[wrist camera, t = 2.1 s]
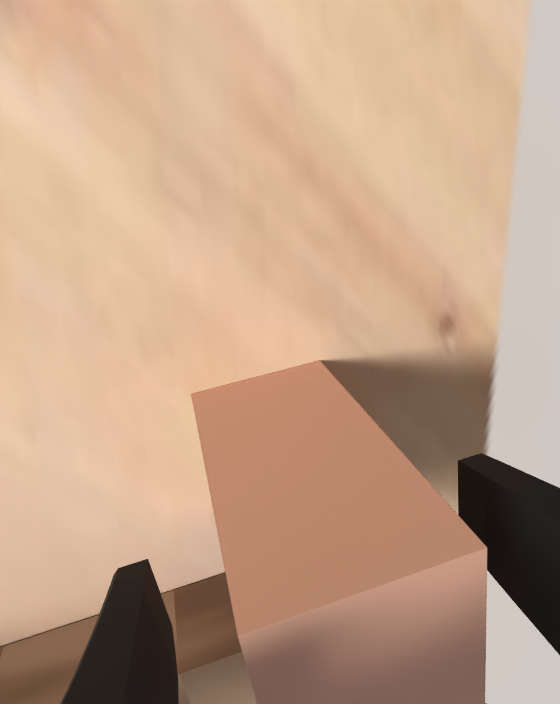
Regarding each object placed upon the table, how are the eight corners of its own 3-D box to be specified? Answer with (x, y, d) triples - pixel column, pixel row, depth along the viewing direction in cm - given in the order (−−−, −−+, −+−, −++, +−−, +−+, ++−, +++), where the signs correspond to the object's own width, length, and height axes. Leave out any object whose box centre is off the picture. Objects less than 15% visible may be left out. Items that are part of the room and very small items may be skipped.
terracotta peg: (334, 466, 16) (484, 705, 9) (219, 501, 16) (282, 790, 8) (319, 360, 15) (487, 547, 7) (191, 394, 14) (237, 636, 7)
